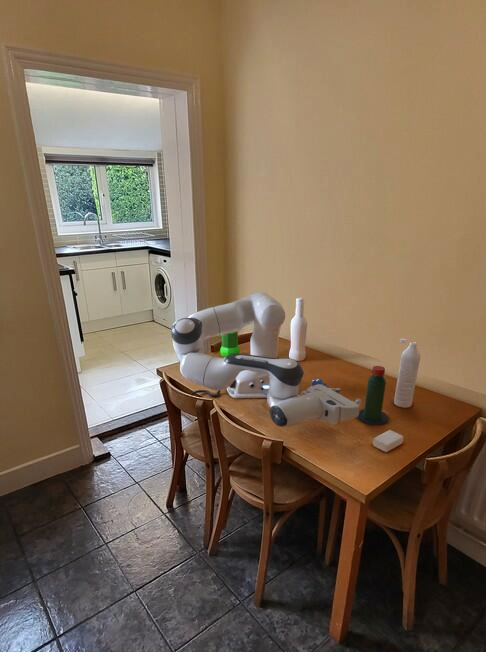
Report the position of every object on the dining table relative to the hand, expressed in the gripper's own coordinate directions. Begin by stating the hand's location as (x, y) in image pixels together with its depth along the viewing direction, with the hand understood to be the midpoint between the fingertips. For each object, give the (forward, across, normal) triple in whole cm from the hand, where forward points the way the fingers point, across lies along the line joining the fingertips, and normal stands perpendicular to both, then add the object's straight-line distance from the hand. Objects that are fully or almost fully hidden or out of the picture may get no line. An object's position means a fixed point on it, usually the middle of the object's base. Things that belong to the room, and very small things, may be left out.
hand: (350, 395), depth 138 cm
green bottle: (+12, 0, -11) cm, 16 cm away
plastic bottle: (-5, -79, -11) cm, 80 cm away
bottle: (+23, -62, -11) cm, 67 cm away
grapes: (-1, -14, -12) cm, 19 cm away
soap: (+4, +15, -12) cm, 20 cm away
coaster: (+12, 0, -12) cm, 17 cm away
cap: (+12, 0, +8) cm, 14 cm away
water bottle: (+30, -3, -12) cm, 32 cm away
